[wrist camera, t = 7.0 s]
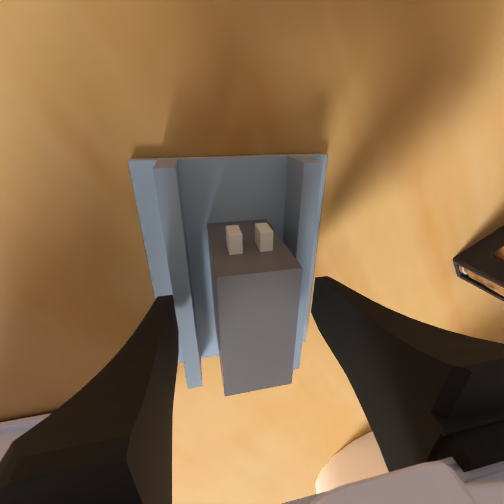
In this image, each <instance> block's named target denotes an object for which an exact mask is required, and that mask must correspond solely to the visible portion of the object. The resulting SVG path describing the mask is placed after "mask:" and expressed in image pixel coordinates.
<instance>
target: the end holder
mask: <svg viewBox="0 0 504 504" xmlns="http://www.w3.org/2000/svg"><path fill="white" fill-rule="evenodd" d="M327 157H328V155H327V154H323V153H311V154H276V155H242V156H207V157H172V158H138V159H129V160H128V165H129V170H130V175H131V180H132V185H133V190H134V195H135V200H136V205H137V210H138V215H139V221H140V226H141V231H142V236H143V241H144V246H145V251H146V256H147V261H148V266H149V271H150V276H151V281H152V286H153V291H154V296H155V299H156V298H157V297H158V296H166V295H173V299H174V306H175V312H176V318H177V324H178V331H179V354H178V362H182V361H183V362H184V368H185V374H186V380H187V387H188V389H189V388H194V387H200V386H202V373H201V358H206V357H212V356H218V355H219V349H218V342H217V334H216V327H215V320H214V307H213V295H212V283H211V271H210V259H209V246H208V234H207V224H209V223H222V222H235V221H248V220H261V219H266V220H267V221H268V222H269V224H270V225H271V226H272V228H273V229H274V230H275V232H276V233H277V234H278V236H279V237H280V238H281V240H282V241H283V242H284V244H285V245H286V246H287V248H288V249H289V250H290V252H291V253H292V254H293V256H294V257H295V258H296V260H297V261H298V262H299V264H300V265H301V266H302V279H301V289H300V300H299V310H298V321H297V331H296V341H295V352H294V362H293V369H298V368H299V365H300V357H301V348H302V342H303V341H305V340H306V331H307V323H308V315H309V307H310V298H311V290H312V282H313V273H314V265H315V257H316V249H317V240H318V232H319V224H320V215H321V207H322V199H323V190H324V182H325V174H326V166H327Z"/></svg>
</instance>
